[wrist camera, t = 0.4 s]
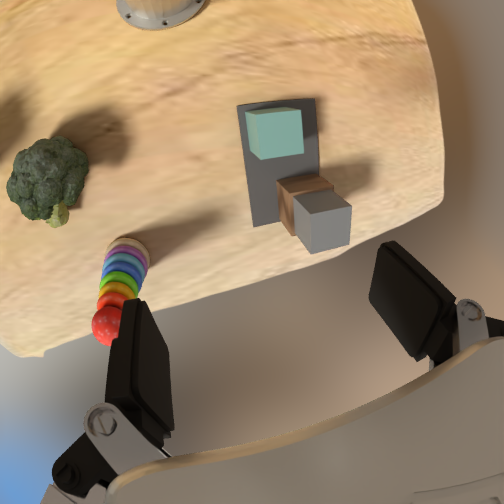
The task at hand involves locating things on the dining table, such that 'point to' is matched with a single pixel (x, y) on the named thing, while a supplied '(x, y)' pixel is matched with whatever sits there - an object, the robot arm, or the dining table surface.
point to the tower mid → (322, 220)
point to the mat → (277, 160)
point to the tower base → (294, 188)
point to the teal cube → (275, 132)
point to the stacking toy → (118, 285)
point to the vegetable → (48, 179)
